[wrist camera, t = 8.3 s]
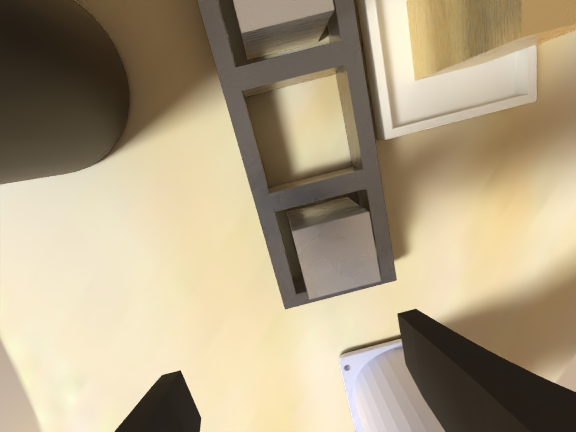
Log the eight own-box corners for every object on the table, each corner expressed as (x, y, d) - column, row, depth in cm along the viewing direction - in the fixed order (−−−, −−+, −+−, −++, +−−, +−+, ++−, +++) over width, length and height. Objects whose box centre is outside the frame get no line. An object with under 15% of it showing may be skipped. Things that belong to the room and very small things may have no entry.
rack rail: (383, 266, 19) (412, 297, 16) (283, 292, 19) (287, 329, 16) (325, -86, 14) (347, -171, 10) (186, -51, 14) (156, -124, 10)
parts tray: (518, 103, 17) (536, 101, 16) (377, 140, 17) (385, 139, 16) (515, -73, 15) (536, -91, 14) (351, -32, 15) (358, -47, 14)
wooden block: (481, 63, 16) (636, 8, 9) (414, 80, 16) (521, 37, 9) (477, -17, 15) (649, -145, 8) (406, 1, 15) (519, -112, 8)
